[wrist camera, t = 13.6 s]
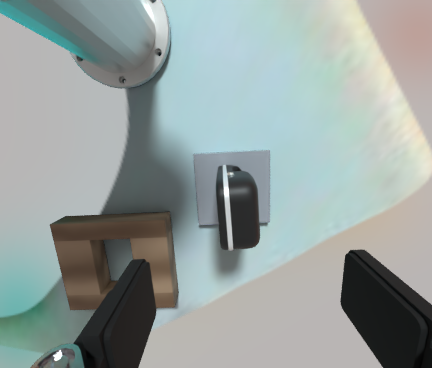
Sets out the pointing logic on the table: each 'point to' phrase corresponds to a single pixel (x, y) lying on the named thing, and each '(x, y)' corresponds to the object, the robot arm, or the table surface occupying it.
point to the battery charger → (237, 208)
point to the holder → (97, 262)
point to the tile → (207, 173)
